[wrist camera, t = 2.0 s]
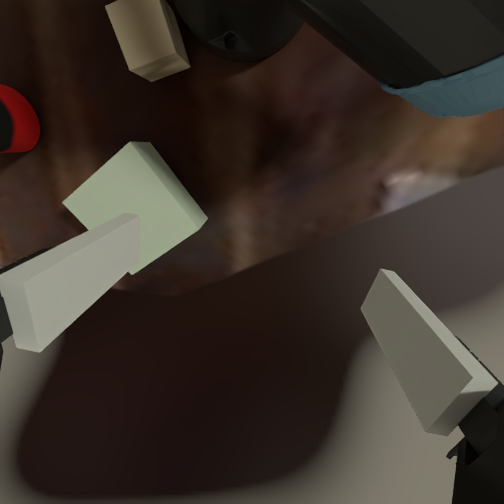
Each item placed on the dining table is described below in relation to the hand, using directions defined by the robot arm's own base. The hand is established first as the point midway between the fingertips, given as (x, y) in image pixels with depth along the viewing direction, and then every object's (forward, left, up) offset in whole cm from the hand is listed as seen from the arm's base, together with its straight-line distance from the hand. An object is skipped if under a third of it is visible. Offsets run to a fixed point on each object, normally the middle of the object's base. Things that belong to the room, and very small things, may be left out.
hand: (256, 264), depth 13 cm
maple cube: (-20, -1, -22) cm, 29 cm away
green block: (-7, -14, -21) cm, 27 cm away
